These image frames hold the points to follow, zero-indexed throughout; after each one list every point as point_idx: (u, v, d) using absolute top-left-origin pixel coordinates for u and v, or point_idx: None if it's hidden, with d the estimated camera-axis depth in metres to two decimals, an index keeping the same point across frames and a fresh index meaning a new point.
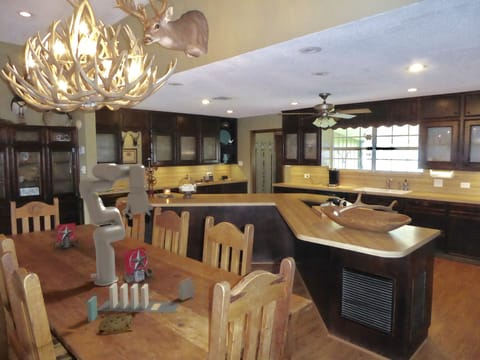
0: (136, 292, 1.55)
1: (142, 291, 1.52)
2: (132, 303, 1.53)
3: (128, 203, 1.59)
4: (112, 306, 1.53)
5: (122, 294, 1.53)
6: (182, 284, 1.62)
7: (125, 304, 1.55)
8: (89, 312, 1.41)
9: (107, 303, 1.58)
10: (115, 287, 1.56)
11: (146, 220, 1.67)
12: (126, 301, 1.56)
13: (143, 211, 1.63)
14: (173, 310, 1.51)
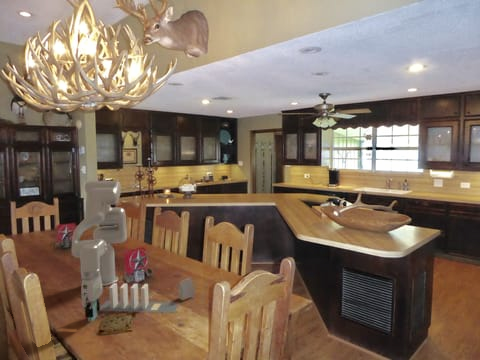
0: (136, 292, 1.55)
1: (142, 291, 1.52)
2: (132, 303, 1.53)
3: None
4: (112, 306, 1.53)
5: (122, 294, 1.53)
6: (182, 284, 1.62)
7: (125, 304, 1.55)
8: None
9: (107, 303, 1.58)
10: (115, 287, 1.56)
11: None
12: (126, 301, 1.56)
13: None
14: (173, 310, 1.51)
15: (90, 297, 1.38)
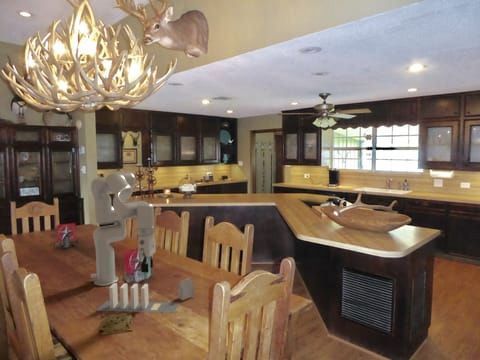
0: (136, 292, 1.55)
1: (142, 291, 1.52)
2: (132, 303, 1.53)
3: None
4: (112, 306, 1.53)
5: (122, 294, 1.53)
6: (182, 284, 1.62)
7: (125, 304, 1.55)
8: None
9: (107, 303, 1.58)
10: (115, 287, 1.56)
11: None
12: (126, 301, 1.56)
13: None
14: (173, 310, 1.51)
15: (147, 252, 1.46)
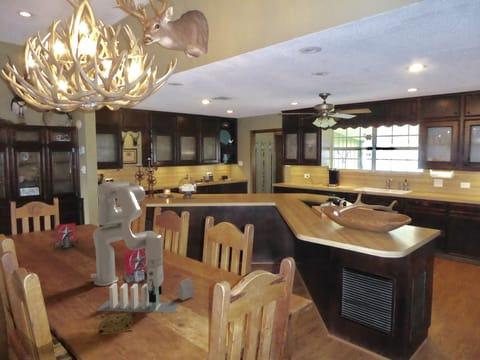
0: (136, 292, 1.55)
1: (142, 291, 1.52)
2: (132, 303, 1.53)
3: None
4: (112, 306, 1.53)
5: (122, 294, 1.53)
6: (182, 284, 1.62)
7: (125, 304, 1.55)
8: None
9: (107, 303, 1.58)
10: (115, 287, 1.56)
11: None
12: (126, 301, 1.56)
13: None
14: (173, 310, 1.51)
15: (155, 283, 1.48)
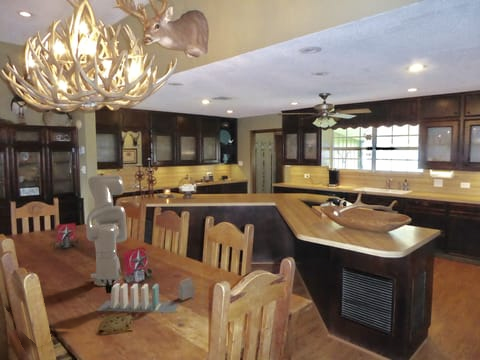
0: (136, 292, 1.55)
1: (142, 291, 1.52)
2: (132, 303, 1.53)
3: (118, 266, 1.53)
4: (112, 306, 1.53)
5: (122, 294, 1.53)
6: (182, 284, 1.62)
7: (125, 304, 1.55)
8: (153, 298, 1.52)
9: (107, 303, 1.58)
10: (117, 287, 1.56)
11: None
12: (126, 301, 1.56)
13: None
14: (173, 310, 1.51)
15: None
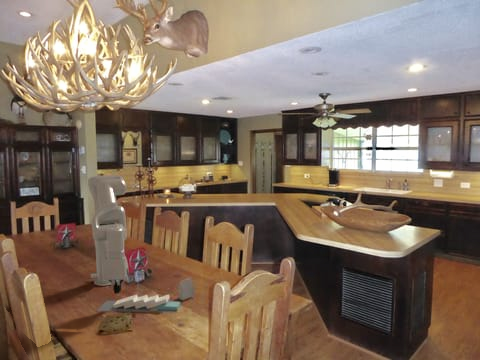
0: None
1: (163, 301, 1.52)
2: (140, 305, 1.52)
3: (126, 267, 1.53)
4: (115, 307, 1.53)
5: (137, 303, 1.53)
6: (182, 284, 1.62)
7: None
8: (167, 307, 1.52)
9: (107, 303, 1.58)
10: None
11: None
12: None
13: None
14: (173, 310, 1.51)
15: None
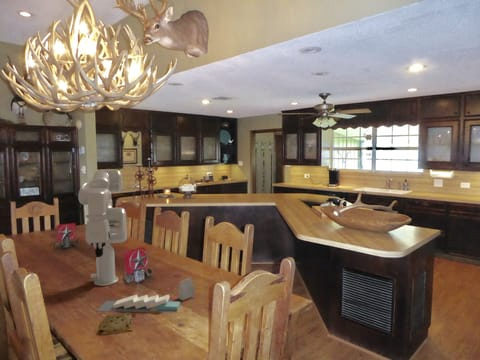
0: None
1: (163, 301, 1.52)
2: (140, 305, 1.52)
3: (108, 230, 1.52)
4: (115, 307, 1.53)
5: (137, 303, 1.53)
6: (182, 284, 1.62)
7: None
8: (167, 307, 1.52)
9: (107, 303, 1.58)
10: None
11: None
12: None
13: None
14: (173, 310, 1.51)
15: None
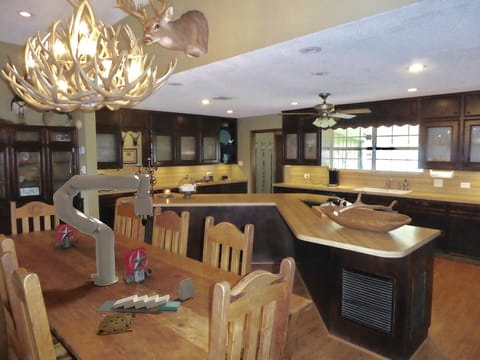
0: None
1: (163, 301, 1.52)
2: (140, 305, 1.52)
3: (152, 205, 1.95)
4: (115, 307, 1.53)
5: (138, 303, 1.53)
6: (182, 284, 1.62)
7: None
8: (167, 307, 1.52)
9: (107, 303, 1.58)
10: None
11: None
12: None
13: None
14: (173, 310, 1.51)
15: None
